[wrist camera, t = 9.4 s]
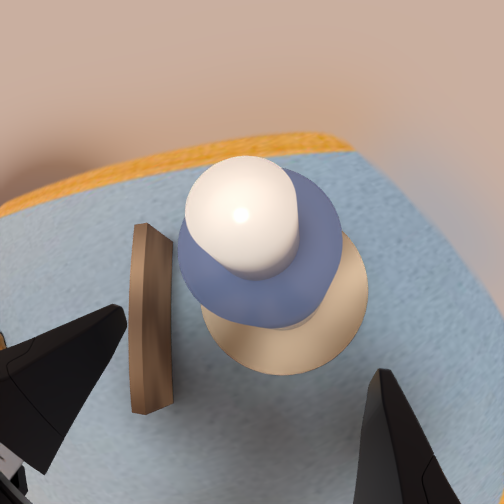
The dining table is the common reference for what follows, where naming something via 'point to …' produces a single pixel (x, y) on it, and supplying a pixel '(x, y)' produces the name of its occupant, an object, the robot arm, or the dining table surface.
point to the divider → (150, 320)
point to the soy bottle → (259, 243)
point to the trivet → (306, 336)
